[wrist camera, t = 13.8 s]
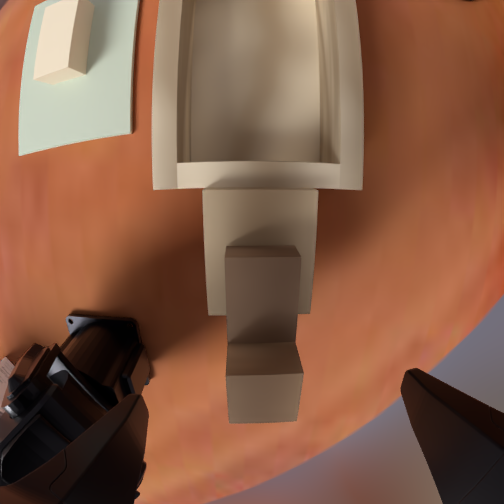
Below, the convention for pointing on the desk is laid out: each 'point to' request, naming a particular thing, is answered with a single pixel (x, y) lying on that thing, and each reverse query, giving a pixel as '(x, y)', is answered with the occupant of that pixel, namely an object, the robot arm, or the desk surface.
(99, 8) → the lid
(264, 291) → the brown l-shaped block
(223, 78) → the beige piece
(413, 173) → the desk surface
